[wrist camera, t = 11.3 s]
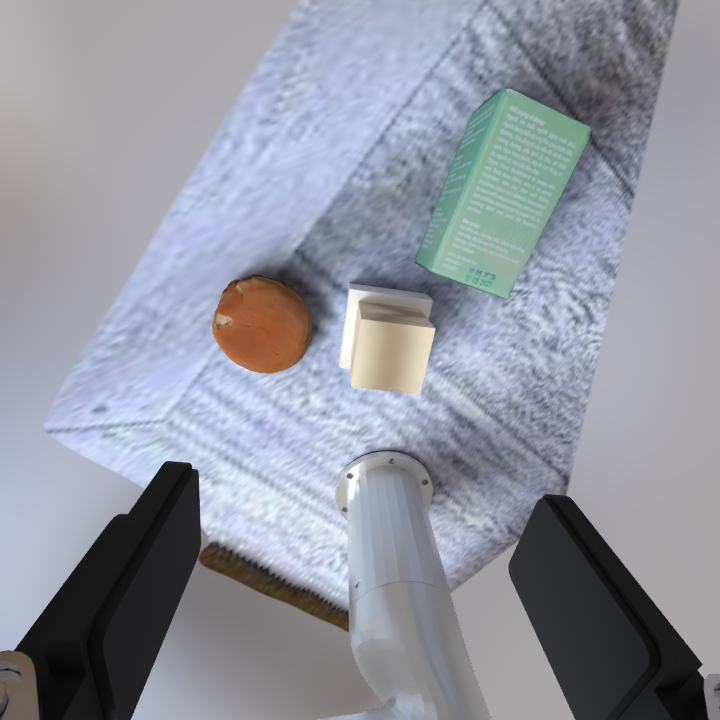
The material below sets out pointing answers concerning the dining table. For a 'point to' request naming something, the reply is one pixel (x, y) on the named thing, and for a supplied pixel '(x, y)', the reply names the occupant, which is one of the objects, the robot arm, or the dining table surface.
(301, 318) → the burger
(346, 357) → the white slab
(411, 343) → the maple block
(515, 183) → the box
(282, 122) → the dining table surface
